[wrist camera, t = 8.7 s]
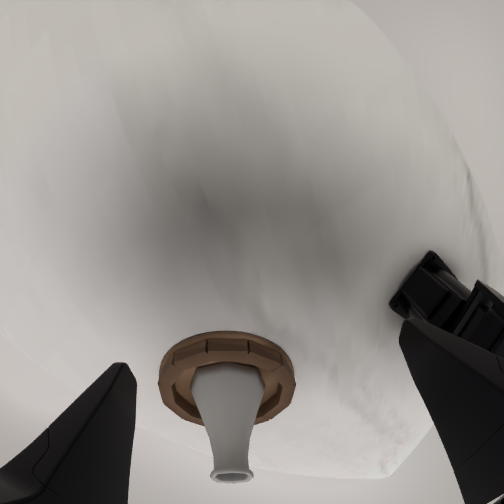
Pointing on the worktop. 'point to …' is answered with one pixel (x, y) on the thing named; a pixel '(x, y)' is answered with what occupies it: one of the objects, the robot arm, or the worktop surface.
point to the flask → (228, 415)
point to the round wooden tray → (220, 351)
